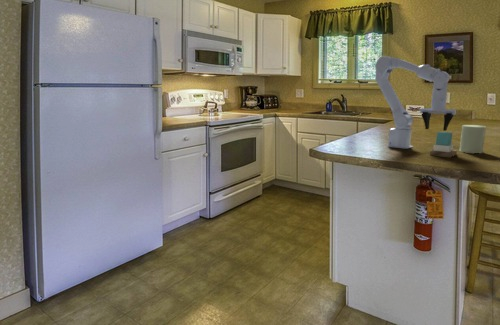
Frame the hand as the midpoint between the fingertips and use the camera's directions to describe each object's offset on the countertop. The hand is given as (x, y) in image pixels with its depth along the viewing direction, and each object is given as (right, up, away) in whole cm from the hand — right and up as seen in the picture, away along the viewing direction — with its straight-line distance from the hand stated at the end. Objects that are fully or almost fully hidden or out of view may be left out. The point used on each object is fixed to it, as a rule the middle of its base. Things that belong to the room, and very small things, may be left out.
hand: (435, 129), depth 166 cm
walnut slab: (-2, -12, -9) cm, 15 cm away
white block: (-2, -10, -9) cm, 14 cm away
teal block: (-2, -7, -10) cm, 12 cm away
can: (+15, -10, -2) cm, 18 cm away
